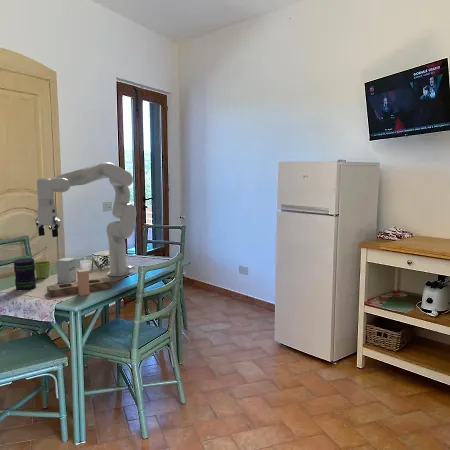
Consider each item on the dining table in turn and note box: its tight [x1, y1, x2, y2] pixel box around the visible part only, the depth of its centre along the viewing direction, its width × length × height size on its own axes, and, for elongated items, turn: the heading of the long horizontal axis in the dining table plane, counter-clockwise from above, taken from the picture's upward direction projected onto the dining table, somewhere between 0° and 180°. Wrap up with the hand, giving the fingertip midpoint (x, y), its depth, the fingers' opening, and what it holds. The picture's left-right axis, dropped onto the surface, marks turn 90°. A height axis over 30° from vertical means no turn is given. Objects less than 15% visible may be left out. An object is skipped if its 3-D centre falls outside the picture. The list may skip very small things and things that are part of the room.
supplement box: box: [56, 257, 77, 284], centre depth 229 cm, size 7×7×13 cm
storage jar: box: [13, 257, 37, 291], centre depth 216 cm, size 10×10×15 cm
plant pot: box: [34, 260, 52, 279], centre depth 238 cm, size 9×9×9 cm
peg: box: [76, 268, 91, 297], centre depth 205 cm, size 4×4×12 cm
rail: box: [46, 277, 113, 298], centre depth 212 cm, size 30×9×4 cm, turn 122°
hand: (48, 236), depth 212 cm, fingers open, 9 cm apart
